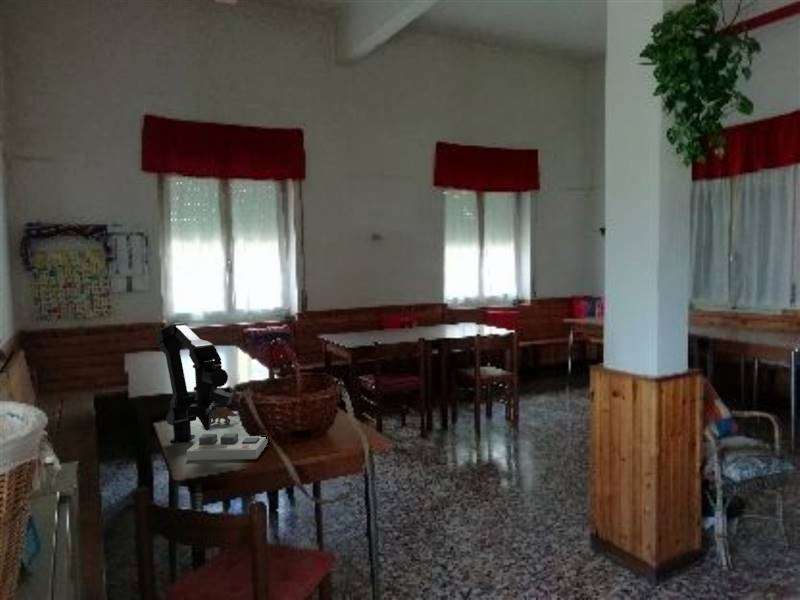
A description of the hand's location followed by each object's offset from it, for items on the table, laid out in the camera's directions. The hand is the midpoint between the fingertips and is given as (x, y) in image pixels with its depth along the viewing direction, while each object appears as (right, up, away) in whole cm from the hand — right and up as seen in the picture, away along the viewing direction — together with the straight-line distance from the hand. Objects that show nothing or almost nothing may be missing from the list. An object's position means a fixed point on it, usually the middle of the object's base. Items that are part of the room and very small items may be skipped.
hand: (207, 429), depth 198 cm
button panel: (+7, -7, -1) cm, 10 cm away
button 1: (0, -5, 0) cm, 5 cm away
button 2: (+14, -6, 0) cm, 15 cm away
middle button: (+7, -4, 0) cm, 8 cm away
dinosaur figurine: (-6, -5, +33) cm, 34 cm away
